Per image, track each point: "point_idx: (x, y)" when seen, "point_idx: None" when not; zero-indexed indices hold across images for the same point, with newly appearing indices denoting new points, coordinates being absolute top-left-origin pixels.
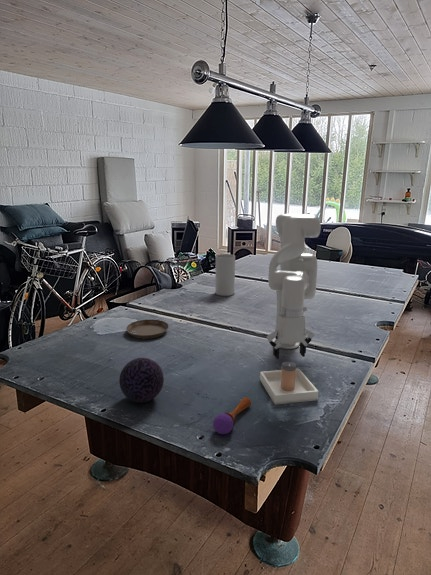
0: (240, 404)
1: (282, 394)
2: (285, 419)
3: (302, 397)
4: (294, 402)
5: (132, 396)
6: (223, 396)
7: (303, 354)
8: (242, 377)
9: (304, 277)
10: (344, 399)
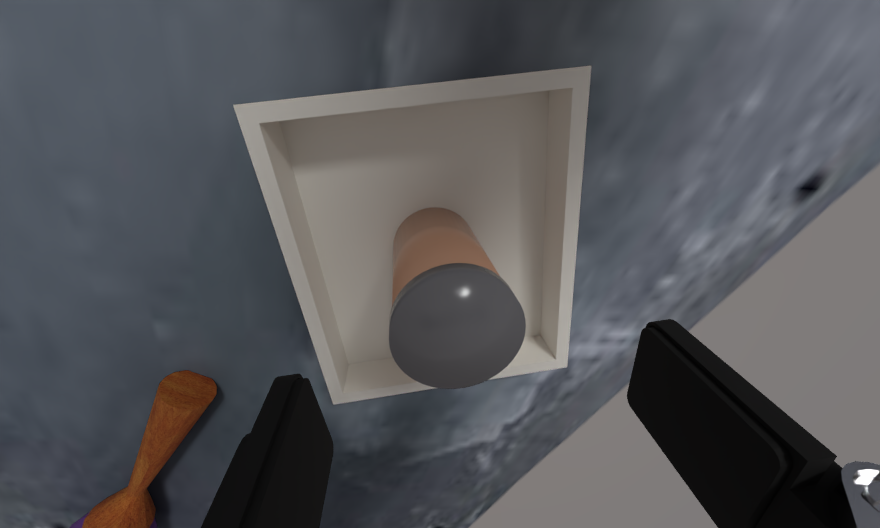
0: (151, 453)
1: (373, 395)
2: (371, 445)
3: None
4: None
5: None
6: (41, 300)
7: (650, 428)
8: (108, 39)
9: None
10: None
